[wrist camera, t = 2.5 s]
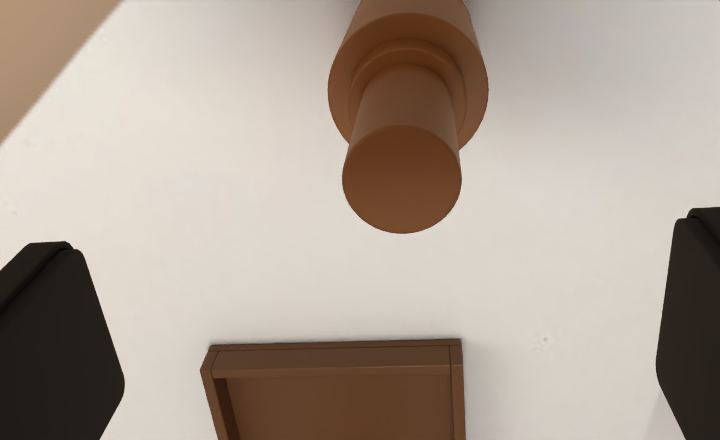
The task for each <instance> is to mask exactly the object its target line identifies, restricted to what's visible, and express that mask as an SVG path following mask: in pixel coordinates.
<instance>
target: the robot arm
mask: <svg viewBox="0 0 720 440" xmlns="http://www.w3.org/2000/svg"><path fill="white" fill-rule="evenodd" d="M656 373H657V378H658V382H659V385H660V387H661V389H662V391H663V393H664V395H665V397H666V399H667V401H668V404H669V406H670V408H671V410H672V412H673V414H674V416H675V418H676V420H677V422H678V424H679V426H680V428H681V431H682V433H683V435H684V437H685V439H686V440H720V207H710V208H692V209H691V210H690V211H689V213H688V215H687V218H681V219H678V220H677V221H676V223H675V226H674V231H673V238H672V246H671V253H670V260H669V267H668V275H667V282H666V289H665V297H664V304H663V311H662V319H661V326H660V333H659V341H658V348H657V355H656ZM124 387H125V381H124V375H123V372H122V369H121V366H120V363H119V360H118V357H117V354H116V351H115V348H114V345H113V342H112V339H111V336H110V333H109V330H108V327H107V324H106V321H105V318H104V315H103V312H102V309H101V306H100V303H99V300H98V297H97V294H96V291H95V288H94V285H93V282H92V279H91V276H90V273H89V270H88V267H87V264H86V261H85V258H84V256H83V254H82V253H81V251H79V250H77V249H73V247H72V246H71V245H70V244H69V243H68V242H66V241H60V242H41V243H29V244H28V245H26V246H25V247H24V248H23V249H22V250H21V251H20V252H19V253H18V254H17V255H16V256H15V257H14V258H13V259H12V260H11V261H10V262H9V263H8V264H7V265H6V266H4V267H3V268H2V269H1V270H0V440H100V438H101V436H102V434H103V432H104V431H105V429H106V427H107V425H108V423H109V421H110V420H111V418H112V416H113V414H114V412H115V410H116V409H117V407H118V405H119V403H120V401H121V399H122V397H123V394H124Z"/></svg>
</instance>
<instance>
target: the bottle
mask: <svg viewBox="0 0 720 440" xmlns="http://www.w3.org/2000/svg"><path fill="white" fill-rule="evenodd" d="M488 91H489V88H488V77H487V73H486V68H485V65H484V62H483V58H482V55H481V52H480V49H479V45H478V42H477V39H476V36H475V32H474V29H473V26H472V23H471V19H470V16H469V13H468V10H467V8H466V6H465V4H464V2H463V0H362V1H361V3H360V5H359V6H358V8H357V10H356V13H355V15H354V17H353V19H352V22H351V24H350V26H349V28H348V30H347V33H346V35H345V37H344V39H343V41H342V44H341V46H340V48H339V50H338V53H337V55H336V57H335V59H334V62H333V65H332V67H331V70H330V75H329V79H328V102H329V107H330V111H331V114H332V117H333V120H334V122H335V124H336V126H337V128H338V130H339V131H340V133H341V134H342V136H343V137H344V138H345V140H346V141H347V142H348V143H349V148H348V152H347V155H346V159H345V163H344V167H343V173H342V185H343V190H344V194H345V197H346V199H347V201H348V203H349V205H350V206H351V208H352V209H353V211H354V212H355V213H356V214H357V215H358V216H359V217H360V218H361V219H362V220H364V221H365V222H366V223H368V224H369V225H371V226H373V227H375V228H377V229H380V230H382V231H386V232H390V233H398V234H406V233H414V232H419V231H422V230H425V229H427V228H430V227H432V226H434V225H435V224H437V223H438V222H440V221H441V220H442V219H443V218H444V217H446V216H447V214H448V213H449V212H450V211H451V210H452V208H453V207H454V205H455V203H456V201H457V200H458V197H459V194H460V190H461V184H462V175H461V167H460V159H459V150H460V149H461V148H462V147H463V146H464V145H466V144H467V142H468V141H469V140H470V139H471V138H472V137H473V135H474V134H475V132H476V131H477V129H478V128H479V126H480V124H481V122H482V120H483V117H484V114H485V111H486V107H487V102H488Z"/></svg>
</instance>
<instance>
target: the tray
mask: <svg viewBox="0 0 720 440" xmlns="http://www.w3.org/2000/svg"><path fill="white" fill-rule="evenodd" d="M200 373H201V377H202V381H203V385H204V388H205V392H206V396H207V400H208V403H209V407H210V411H211V415H212V418H213V422H214V426H215V430H216V433H217V437H218V440H466V439H465V407H464V375H463V357H462V344H461V339H450V340H409V341H369V342H329V343H288V344H248V345H211V346H210V348H209V350H208V352H207V355H206V357H205V359H204V361H203V364H202V366H201V368H200Z"/></svg>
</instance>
